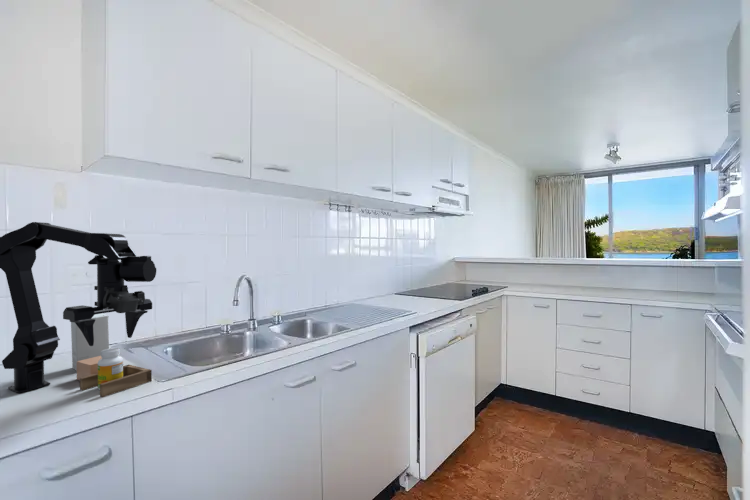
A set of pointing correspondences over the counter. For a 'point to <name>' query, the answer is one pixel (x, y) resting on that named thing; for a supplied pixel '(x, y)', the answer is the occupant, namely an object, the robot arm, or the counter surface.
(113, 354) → the supplement bottle
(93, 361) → the terracotta pedestal
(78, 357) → the skincare box
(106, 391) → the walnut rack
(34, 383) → the robot arm
